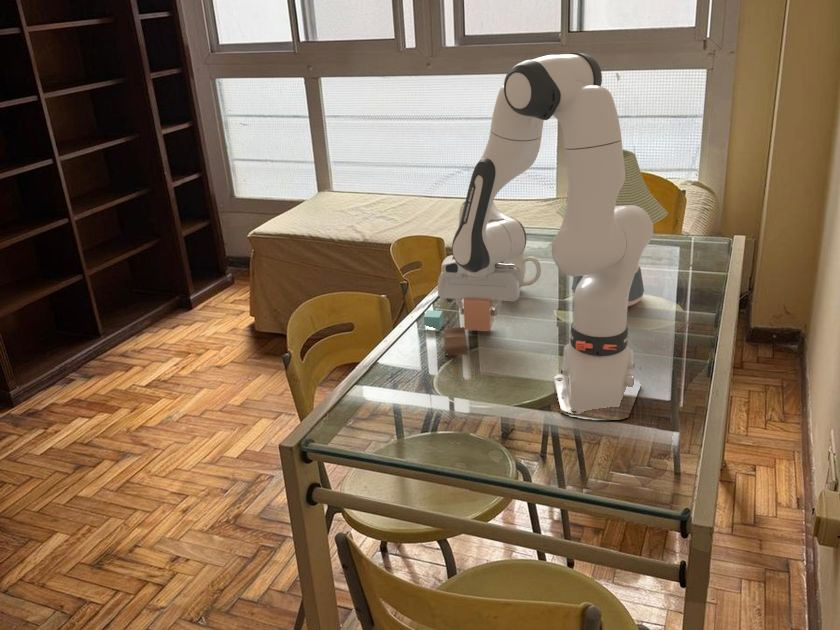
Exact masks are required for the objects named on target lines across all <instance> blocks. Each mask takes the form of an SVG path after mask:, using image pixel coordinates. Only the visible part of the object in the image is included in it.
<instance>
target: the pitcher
mask: <svg viewBox="0 0 840 630" xmlns="http://www.w3.org/2000/svg"><path fill="white" fill-rule="evenodd" d="M524 252H525V250H524V251H523V252H522V253H521V254H520V255H518V256H516V257H513V258H510V259H507V260H505V261H503V262H500V263H501V264H514V266H517V267H518V268H519V269H520V280H519V289H521V288H522V287H527V286H531V285H533V284H535V283H536V282H537V281H538V280H539V279H540V276H541V274H542V273H541V272H542V267H541V263H540V261H539V259H538V258H536V257H535V256H532V255H531V256H526V257H524ZM527 262H532V263H533V264H534V265H535V269H536V272H535V276H534V277H533V278H531V279H529V280H525V276H526V263H527ZM514 268H515V267H514Z"/></svg>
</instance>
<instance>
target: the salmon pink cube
mask: <svg viewBox="0 0 840 630" xmlns="http://www.w3.org/2000/svg"><path fill="white" fill-rule="evenodd" d="M494 303H495V300H490V299H474V298H465V299H463V305H464V314H463V319H464V320H463V321H464V326H463V327H464V328H465V331H480V332H481V331H483V332H490V331H491V330H492V327H493V324H494V321H495V316H491V309H492V307H495V304H494Z"/></svg>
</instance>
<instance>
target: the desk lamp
mask: <svg viewBox="0 0 840 630" xmlns="http://www.w3.org/2000/svg"><path fill="white" fill-rule="evenodd" d="M623 158H624V168H625V181H624V184H623V186H622V187H621V189H620V191H619V193H618V196H617V199H616V204H615V206H624V205H634V206H638V207H640V208H642V209H643V210H645V211H646V212H647V213H648V215H649V216H650V218H651V220H652V224H653V225H654V224H656V223H658V222H659V221H661V220H663V219H664V218H665V217H667V216H668V214H669V212H668V211H667V210H666V209H665V208H664V207H663V205H661V204H660V203H659V201H658V200H657V199H656V197H655V196H654V195H653V194H652V193H651V191H650V189H649V188H648V186H647V184H646V182H645V180H644V178H643V175H642V172H641V169H640V166H639V162H638V160H637V156H636V153H634V152H632V151H630V150H627V149H623ZM566 204H567V201H565V202H564V204H563V205H562V206H561V207H559V209H557V211H556V212H555V213H556V214H557V215H558V216H560V217H561V218H562V219H563V218H564V214H565V209H566ZM573 277H574V278H573V281H572V286H571V290H572V292H571V293H572V296H573V297H574V293H575V289H576V287H577V285H578V284H579V282H580V281H581V279H582V277H583V276H573ZM644 292H645V289H644V282H643V275H642V269H641V266H640V265H639V264H638V266H637V269H636V272H635V275H634V278H633V281H632V284H631V288H630V292H629V298H628V307H631V306H633V305H635V304H637V303H638V302H640V301H642V300H643V297H644Z"/></svg>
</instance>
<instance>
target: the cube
mask: <svg viewBox="0 0 840 630" xmlns="http://www.w3.org/2000/svg"><path fill="white" fill-rule="evenodd" d="M423 323H424V325H426V326H429V327H433V328H436V329H438V330H440V329H441V330H442V328H443V326H444V316H443V310H429V309H428V310H427V309H426V311H425V314H424V316H423ZM424 325H423V326H424ZM442 325H443V326H442ZM441 327H442V328H441ZM441 330H440V331H441Z"/></svg>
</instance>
